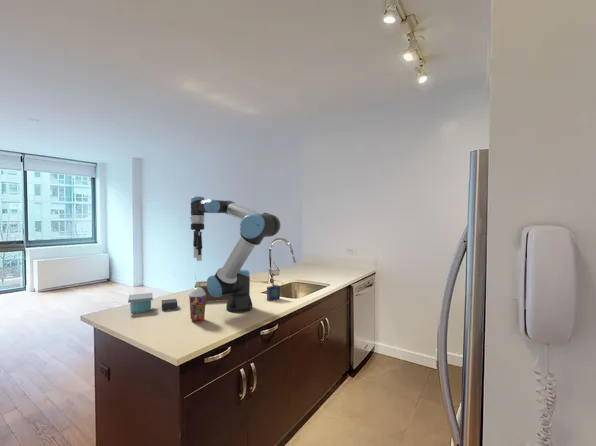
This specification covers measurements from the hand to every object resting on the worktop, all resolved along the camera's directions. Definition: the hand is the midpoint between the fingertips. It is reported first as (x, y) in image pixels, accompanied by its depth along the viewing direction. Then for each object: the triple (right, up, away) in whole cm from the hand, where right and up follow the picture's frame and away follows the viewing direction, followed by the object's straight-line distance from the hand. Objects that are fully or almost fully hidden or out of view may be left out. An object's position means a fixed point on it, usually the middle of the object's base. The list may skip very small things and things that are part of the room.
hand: (197, 259), depth 181 cm
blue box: (+43, -29, +19) cm, 55 cm away
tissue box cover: (+5, -29, +23) cm, 37 cm away
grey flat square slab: (-31, -22, -5) cm, 38 cm away
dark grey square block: (-16, -29, 0) cm, 33 cm away
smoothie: (+7, -30, -21) cm, 37 cm away
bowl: (-31, -29, -5) cm, 42 cm away
